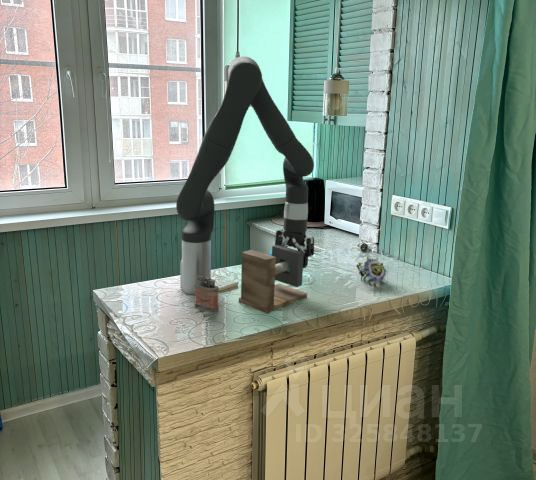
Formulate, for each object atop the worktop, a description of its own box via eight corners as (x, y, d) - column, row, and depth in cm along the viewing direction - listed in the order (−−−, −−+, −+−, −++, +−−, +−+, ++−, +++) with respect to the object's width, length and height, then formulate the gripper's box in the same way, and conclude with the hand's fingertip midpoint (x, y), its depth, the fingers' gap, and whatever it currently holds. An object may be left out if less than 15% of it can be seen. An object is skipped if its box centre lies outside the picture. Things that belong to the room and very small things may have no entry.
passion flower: (375, 301, 181) (369, 281, 173) (351, 287, 188) (345, 266, 180) (395, 280, 185) (391, 258, 176) (372, 266, 192) (366, 245, 184)
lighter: (220, 310, 156) (221, 278, 154) (214, 313, 153) (214, 281, 151) (199, 304, 160) (199, 273, 157) (192, 307, 157) (192, 276, 155)
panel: (275, 276, 173) (277, 244, 170) (301, 285, 166) (303, 252, 163) (270, 278, 171) (272, 246, 168) (297, 287, 164) (298, 253, 161)
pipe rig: (280, 286, 177) (282, 239, 172) (308, 296, 169) (311, 247, 165) (238, 302, 162) (239, 251, 158) (267, 313, 155) (269, 260, 150)
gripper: (271, 213, 167) (269, 262, 172) (306, 221, 158) (303, 272, 163) (286, 210, 173) (283, 257, 177) (321, 218, 164) (317, 267, 168)
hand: (293, 264), depth 170 cm, fingers open, 8 cm apart
